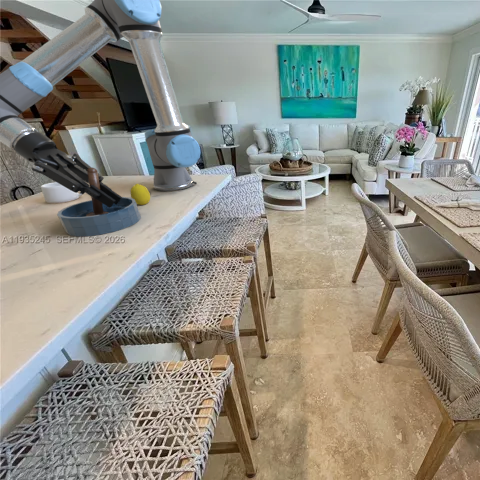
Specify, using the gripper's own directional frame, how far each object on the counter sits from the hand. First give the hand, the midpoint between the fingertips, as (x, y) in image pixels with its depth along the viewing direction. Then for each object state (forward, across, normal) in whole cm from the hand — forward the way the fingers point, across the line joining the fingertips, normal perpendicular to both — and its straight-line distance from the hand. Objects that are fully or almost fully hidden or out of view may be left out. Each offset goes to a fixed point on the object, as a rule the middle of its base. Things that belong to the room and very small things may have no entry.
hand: (115, 202), depth 76 cm
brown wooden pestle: (-1, 0, -8) cm, 8 cm away
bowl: (+2, +2, -7) cm, 8 cm away
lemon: (+3, -15, -7) cm, 17 cm away
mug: (-20, -24, -30) cm, 43 cm away
